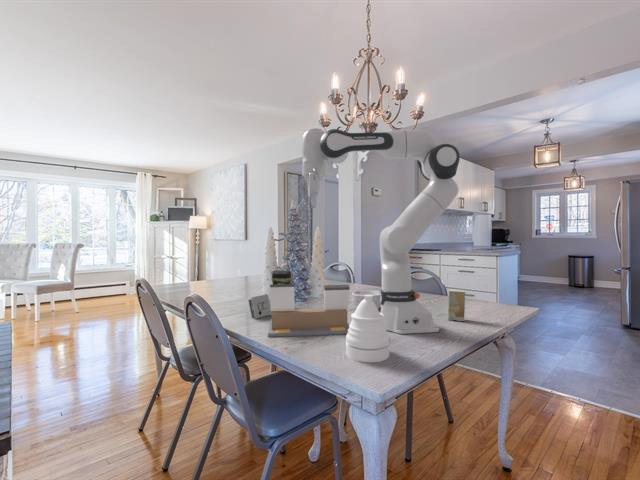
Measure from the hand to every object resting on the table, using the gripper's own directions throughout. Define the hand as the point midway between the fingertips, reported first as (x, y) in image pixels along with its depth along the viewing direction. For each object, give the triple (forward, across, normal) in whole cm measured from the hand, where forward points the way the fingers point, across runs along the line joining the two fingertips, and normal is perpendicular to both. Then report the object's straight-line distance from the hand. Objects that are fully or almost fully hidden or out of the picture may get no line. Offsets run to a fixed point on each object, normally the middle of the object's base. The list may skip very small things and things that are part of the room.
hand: (313, 207), depth 130 cm
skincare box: (+46, +2, -59) cm, 75 cm away
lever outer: (+39, -7, +12) cm, 42 cm away
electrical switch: (+47, +15, +23) cm, 55 cm away
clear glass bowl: (+47, +24, -26) cm, 59 cm away
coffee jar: (+47, +29, +15) cm, 57 cm away
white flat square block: (+39, -6, -8) cm, 40 cm away
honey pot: (+47, -33, -15) cm, 59 cm away
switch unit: (+46, -6, +2) cm, 47 cm away
